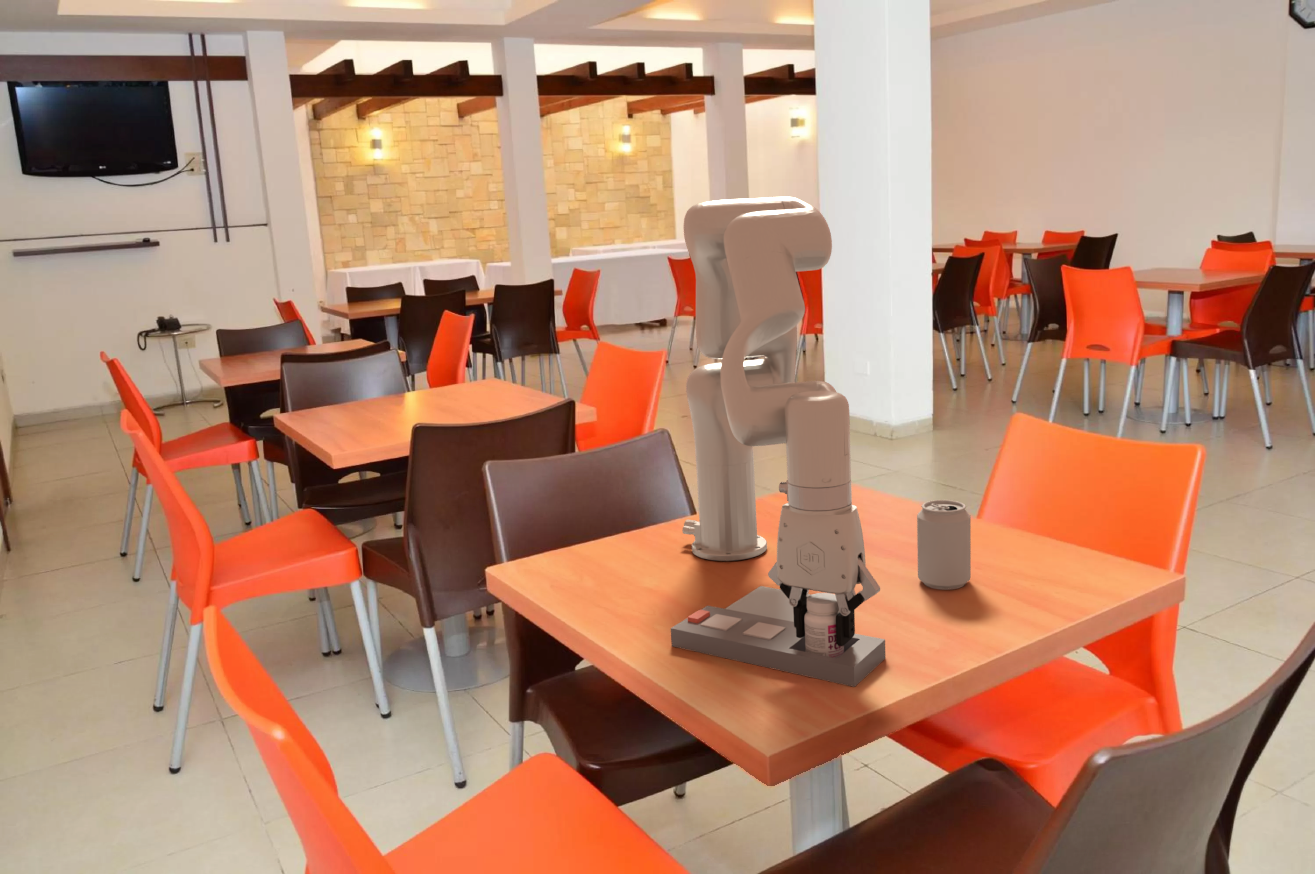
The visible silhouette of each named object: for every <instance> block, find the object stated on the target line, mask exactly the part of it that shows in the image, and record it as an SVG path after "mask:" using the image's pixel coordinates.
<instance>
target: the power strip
mask: <svg viewBox="0 0 1315 874" xmlns="http://www.w3.org/2000/svg"><path fill="white" fill-rule="evenodd" d="M670 636H671V637H670V639H671V647H675V648H678V649H682V650H687V651H693V652H696V653H701V654H706V655H710V656H715V657H718V658H724V659H727V660H728V659H729V660H732V661H737V662H741V663H746V664H750V665H754V666H755V665H756V666H758V667H759V666H760V667H764V668H769V669H774V670H778V671H781V672H782V671H783V672H786V673H791V674H795V675H801V676H805V677H808V678H814V679H818V680H823V681H828V682H831V683H837V684H840V685H844V686H850V687H854V688H855V687H856V686H857V685H858V684H859V683H861V682H862V681H863V680H864V679H865V678H866V677H867V676H868V675H869V674H870V673H871V672H872V671H874V670H875V669H876V668H877V667H878V666H879V665H880V664H882V662H883V661H884V660H885V659H886V639H885V638H880V637H875V636H869V635H864V634H859V633H855V634H854V636H853V637H852V639H851V640H850V641H848V642H847V643H846V644H845V645H844V653H843V654H842V655H841V656H839V657H838V658H833V657H828V656H823V655H818V654H813V653H809V652H806V651H805V636H804V637H802V638H798V637H796V628H795V627H794V622H792V621H786V620H781V619H776V618H771V617H765V616H760V615H755V614H750V613H744V612H739V611H734V610H729V609H725V608H722V607H718V606H712V605H706V606H705V607H703V608H701V609H698V610H697V611H695V612H693V613H692V614H690V615H688V616H687V617H686V618H684V619H683V620H681V622H679V623H677V624H674V626H672V627H671V628H670Z"/></svg>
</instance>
